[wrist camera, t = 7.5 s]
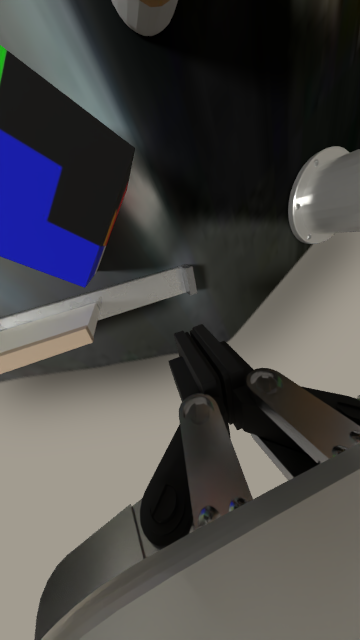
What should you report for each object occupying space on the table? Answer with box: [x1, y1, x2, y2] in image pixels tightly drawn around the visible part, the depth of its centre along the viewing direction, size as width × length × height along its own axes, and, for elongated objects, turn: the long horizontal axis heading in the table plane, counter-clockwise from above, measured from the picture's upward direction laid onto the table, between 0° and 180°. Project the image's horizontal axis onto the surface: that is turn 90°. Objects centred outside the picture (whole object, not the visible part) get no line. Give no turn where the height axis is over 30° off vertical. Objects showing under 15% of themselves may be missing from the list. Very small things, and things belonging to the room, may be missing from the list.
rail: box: [0, 264, 197, 331], centre depth 23 cm, size 26×4×3 cm, turn 103°
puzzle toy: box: [0, 45, 135, 287], centre depth 15 cm, size 10×10×10 cm
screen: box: [0, 303, 100, 374], centre depth 18 cm, size 12×1×8 cm, turn 103°
